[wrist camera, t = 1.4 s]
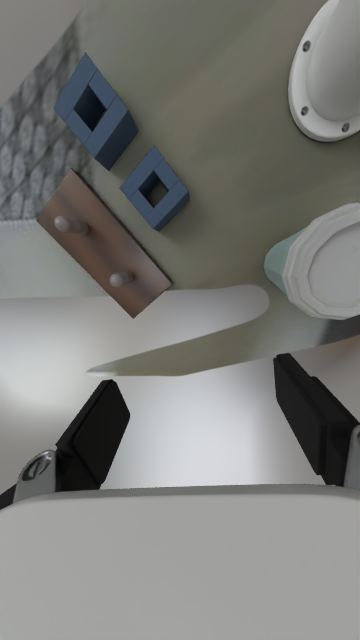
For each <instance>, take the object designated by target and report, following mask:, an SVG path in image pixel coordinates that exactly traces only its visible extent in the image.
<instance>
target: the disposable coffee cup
mask: <svg viewBox="0 0 360 640" xmlns="http://www.w3.org/2000/svg"><path fill="white" fill-rule="evenodd" d="M263 267H264V270H265V273H266V276H267V278H268V279H270V280H271V281H272V282H273V283H274V284H275V285H276V286H277V287H278V288H279V289H280V290H281V291H282V292H283V293H284V294H286V295H287V296H288V298H289V301H290V302H291V303H293V304H294V305H295V306H297V307H298V308H299V309H301V310H302V311H303V312H304V313H306V314H307V315H308V316H313V317H317V318H327V319H336V320H344V319H347V318H350V317H353V316H356V315H359V314H360V203H353V204H346V205H344V206H342V207H340V208H338V209H335V210H333V211H331V212H329V213H327V214H325V215H323V216H320V217H318V218H316V219H314V220H313V221H312V222H311V223H310V225H309V226H308V227H306V228H305V229H303V230H301V231H299V232H297V233H296V234H294V235H292V236H290V237H288V238H286V239H285V240H283V241H281V242H279V243H277V244H275V245H274V246H273V247H272V249H271V250H270V251H269V252H268V253H267V255H266V258H265V262H264V266H263Z"/></svg>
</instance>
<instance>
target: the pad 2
mask: <svg viewBox="0 0 360 640" xmlns="http://www.w3.org/2000/svg"><path fill="white" fill-rule="evenodd" d="M159 181H160V182H161V184H162V185H163V186H164V188H165V189H166V190H167V192H168V193H167V194H166V195H165V196H164V197H163V198H162V199H161V201H160V202H159V203H158V204H157V205H156V206H155V207H153V206H152V205H151V203H150V202H149V201H148V200H147V198H146V196H147V195H148V194H149V193H150V192H151V191H152V189H153V188H154V187H155V186H156V185H157V184H158V183H159ZM120 189H121V191H122V192H123V193H124V194H125V195H126V197H127V198H128V199H129V200H130V202H131V203H132V204H133V205H134V206H135V208H136V209H137V210H138V211H139V212H140V214H141V215H142V216H143V217H144V218H145V220H146V221H147V222H148V223H149V224H150V226H151V227H152V228H153V229H155V230H157V231H160V230H161V229H162V228H163V227H164V226H165V225H166V224H167V223H168V222H169V220H170V219H171V218H172V217H173V216H174V215H175V214H176V213H177V212H178V211H179V210H180V209H181V208H182V207H183V206H184V205H185V204H186V203H187V202H188V201H189V193H188V190H187V189H186V188H185V186H184V185H183V184H182V182H181V181H180V180H179V178H178V177H177V176H176V174H175V173H174V171H173V170H172V169H171V167H170V166H169V165H168V163H167V162H166V161H165V159H164V158H163V157H162V155H161V154H160V152H159V151H158V150H157V148H156V147H155V146H153V147H152V148H151V149H150V151H149V152H148V153H147V154H146V156H145V157H144V158H143V159H142V161H141V162H140V163H139V164H138V166H137V167H136V168H135V169H134V171H133V172H132V173H131V174H130V176H129V177H128V178H127V179H126V181H125V182H124V183H123V185H122V186H121V187H120Z"/></svg>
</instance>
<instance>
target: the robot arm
mask: <svg viewBox="0 0 360 640" xmlns="http://www.w3.org/2000/svg"><path fill="white" fill-rule="evenodd" d="M288 98H289V106H290V110H291V114H292V117H293V119H294V121H295V123H296V125H297V126H298V127H299V129H300V130H301V131H302V132H303V133H304V134H306V135H307V136H308V137H310V138H312V139H315V140H317V141H324V142H330V141H338V140H341V139H344V138H347V137H349V136H351V135H353V134H354V133H356V132H358V131H359V130H360V0H328V1H327V2H326V3H325V4H324V5H323V7H322V8H321V9H320V10H319V12H318V13H317V14H316V16H315V17H314V18H313V20H312V22H311V23H310V25H309V27H308V29H307V30H306V32H305V34H304V36H303V38H302V40H301V42H300V44H299V46H298V48H297V51H296V54H295V57H294V60H293V62H292V66H291V71H290V76H289V85H288ZM301 114H302V115H303V116H302V115H301ZM273 361H274V375H275V388H276V398H277V402H278V404H279V406H280V407H281V410H282V411H283V413H284V415H285V417H286V419H287V421H288V423H289V425H290V427H291V429H292V430H293V432H294V434H295V436H296V438H297V440H298V442H299V444H300V445H301V447H302V449H303V451H304V453H305V455H306V457H307V459H308V461H309V463H310V464H311V466H312V468H313V470H314V472H315V473H316V474H317V475H321V476H322V478H323V480H324V482H325V483H326V485H313V484H312V485H310V484H267V485H266V484H259V485H223V486H191V487H160V488H133V489H132V488H131V489H106V490H99V489H100V486H101V484H102V483H103V482H104V481H105V479H106V477H107V474H108V472H109V469H110V467H111V464H112V462H113V459H114V457H115V454H116V452H117V449H118V447H119V444H120V442H121V439H122V437H123V434H124V432H125V429H126V427H127V424H128V422H129V419H130V412H129V410H128V408H127V406H126V403H125V401H124V399H123V397H122V394H121V392H120V390H119V388H118V385H117V383H116V382H114V381H113V380H112V379H110V380H103V381H102V382H101V383H100V384H99V386H98V387H97V388H96V390H95V391H94V392H93V394H92V395H91V397H90V398H89V399H88V401H87V402H86V403H85V405H84V406H83V408H82V409H81V410H80V412H79V413H78V414H77V416H76V417H75V418H74V420H73V421H72V423H71V424H70V425H69V427H68V428H67V429H66V431H65V432H64V433H63V435H62V436H61V438H60V439H59V440H58V442H57V443H56V444H55V445H56V446H57V450H56V451H53V450H46V451H44V452H42V453H40V454H38V455H37V456H35V457H34V458H33V459H32V460H31V461H29V462H28V463H27V465H26V466H25V467H24V468H23V470H22V471H21V473H20V475H19V477H18V480H17V483H16V484H15V485H14V486H12V487H11V488H10V489H8V490H7V491H5V492H4V493H2V494H1V495H0V640H360V423H359V422H358V421H357V419H355V417H354V416H353V415H352V414H351V413H350V412H349V411H348V410H347V409H346V408H345V407H344V406H343V405H342V404H341V402H340V401H339V400H338V399H337V398H336V397H335V396H334V395H333V394H332V393H331V392H330V391H329V390H328V389H327V388H326V386H325V385H324V384H322V382H321V381H320V380H319V379H318V378H317V377H314V376H312V377H310V376H309V375H308V374H307V372H306V371H305V370H304V369H303V368H302V367H301V366H300V365H299V363H298V362H297V361H296V360H295V359H294V358H293V357H292V356H291V354H289V353H285V354H278V355H277V358H274V359H273ZM331 485H336V486H331Z"/></svg>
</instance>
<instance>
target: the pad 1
mask: <svg viewBox="0 0 360 640" xmlns="http://www.w3.org/2000/svg"><path fill="white" fill-rule="evenodd" d="M104 109H105V111H106V113H105V114H104V116H103V117H102V119H101V120H100V122H99V123H98V125H97V126H96V128H95V129H94V131H92V130H91V129H92V127H93V126H94V124H95V123H96V121H97V120H98V118H99V117H100V115H101V114H102V112H103V111H104ZM54 110H55V111H56V112H57V114H58V115H59V116H60V117H61V118H62V120H63V121H64V122H65V123H66V124H67V126H68V127H69V128H70V129H71V130H72V132H73V133H74V134H75V135H76V136H77V138H78V139H79V140H80V141H81V142H82V144H83V145H84V146H85V147H86V148H87V150H88V151H89V152H90V153H91V155H92V156H93V157H94V158H95V159H96V160H97V161H98V162H99V163H100V164H102V165H103V166H104V167H105V168H106V169H107V170H108V171H109V170H110V168H111V167H112V166H113V164H114V163H115V162H116V160H117V159H118V157H119V156H120V155H121V153H122V152H123V151H124V149H125V148H126V147H127V145H128V144H129V143H130V141H131V140H132V139H133V137H134V136H135V135H136V133H137V132H138V129H137V127H136V125H135V123H134V121H133V119H132V117H131V115H130V113H129V111H128V109H127V108H126V106H125V105H124V104H123V102H122V101H121V100H120V98H119V97H118V96H117V94H116V93H115V92H114V90H113V89H112V87H111V86H110V85H109V83H108V82H107V81H106V79H105V78H104V77H103V75H102V74H101V73H100V71H99V70H98V69H97V67H96V66H95V64H94V63H93V62H92V60H91V59H90V58H89V56H88V55H87V54H86V52H85V53H84V55H83V57H82V59H81V60H80V62H79V64H78V66H77V67H76V69H75V71H74V73H73V74H72V76H71V78H70V80H69V82H68V83H67V85H66V87H65V89H64V90H63V92H62V94H61V96H60V97H59V99H58V101H57V103H56V104H55V106H54Z"/></svg>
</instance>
